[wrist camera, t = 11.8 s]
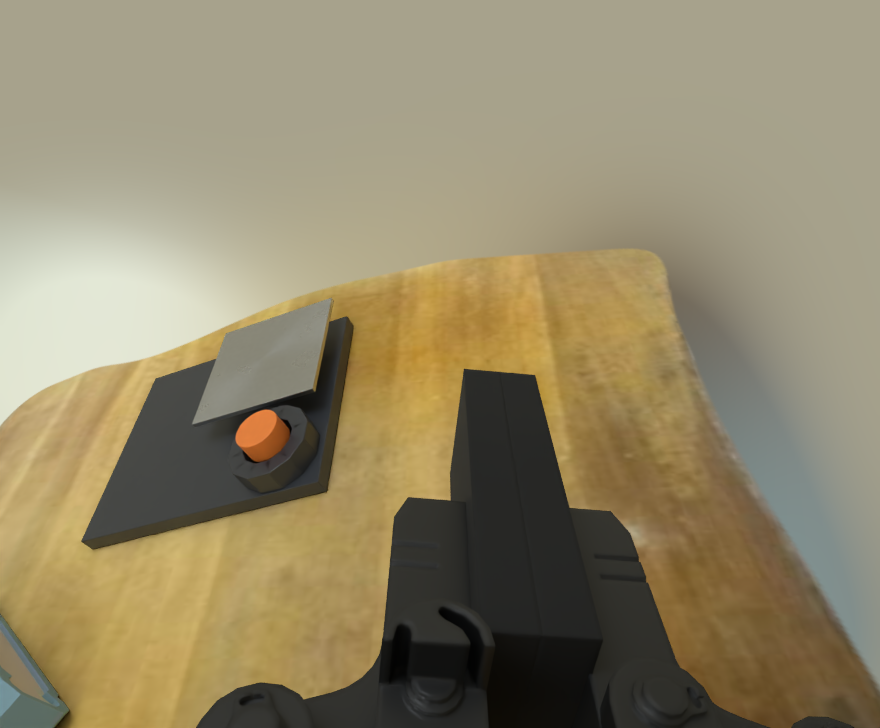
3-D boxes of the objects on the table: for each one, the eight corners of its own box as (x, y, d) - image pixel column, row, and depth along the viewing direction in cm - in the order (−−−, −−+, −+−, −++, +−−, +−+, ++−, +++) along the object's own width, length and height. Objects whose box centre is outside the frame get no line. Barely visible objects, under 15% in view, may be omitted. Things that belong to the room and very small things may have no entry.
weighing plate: (333, 301, 54) (331, 297, 54) (315, 392, 46) (312, 388, 46) (228, 336, 57) (225, 333, 57) (194, 427, 49) (191, 424, 49)
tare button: (294, 420, 46) (280, 404, 45) (285, 456, 44) (271, 440, 42) (255, 431, 47) (241, 415, 46) (245, 467, 44) (230, 452, 43)
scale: (353, 325, 56) (336, 300, 54) (327, 491, 44) (303, 465, 42) (163, 386, 61) (142, 365, 59) (92, 549, 49) (62, 529, 47)
